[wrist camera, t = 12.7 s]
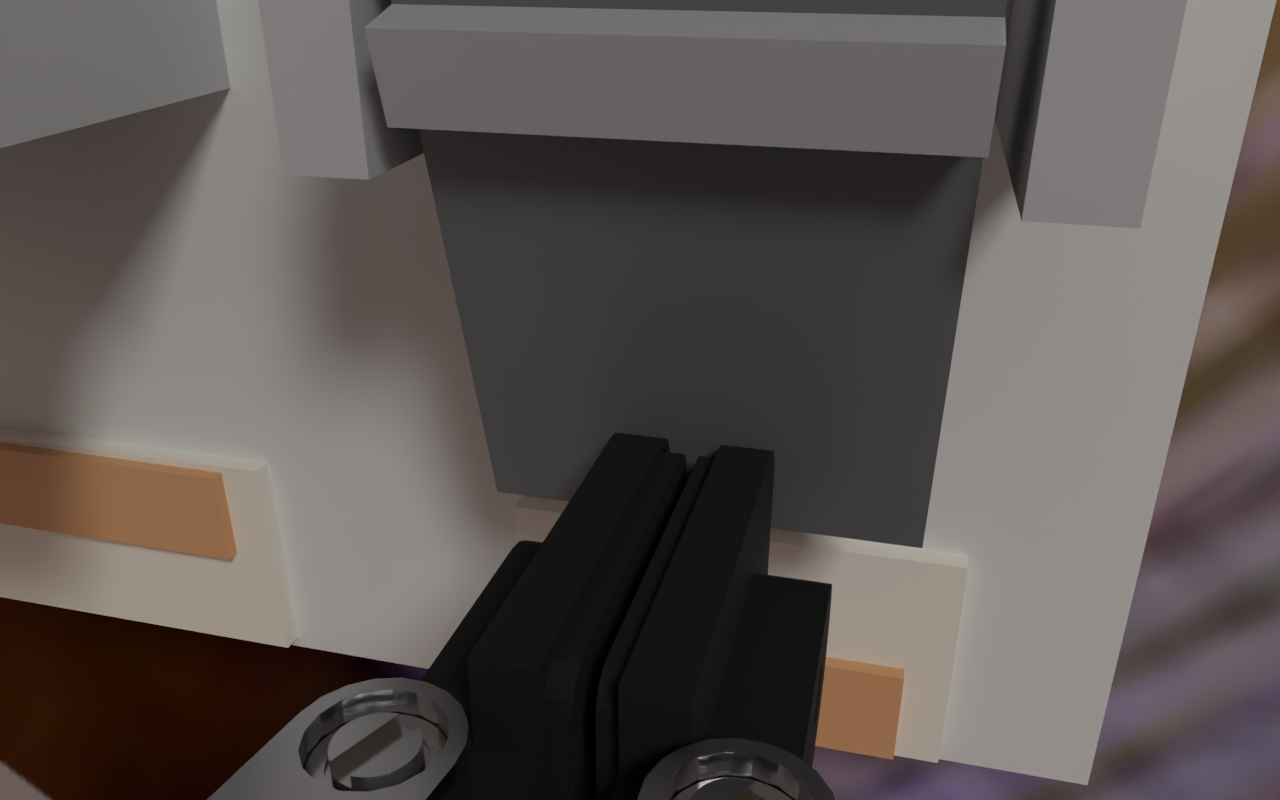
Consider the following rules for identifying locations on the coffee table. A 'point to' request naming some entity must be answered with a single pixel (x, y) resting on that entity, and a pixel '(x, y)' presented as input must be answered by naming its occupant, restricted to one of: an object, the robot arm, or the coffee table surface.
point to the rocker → (707, 229)
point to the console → (443, 384)
